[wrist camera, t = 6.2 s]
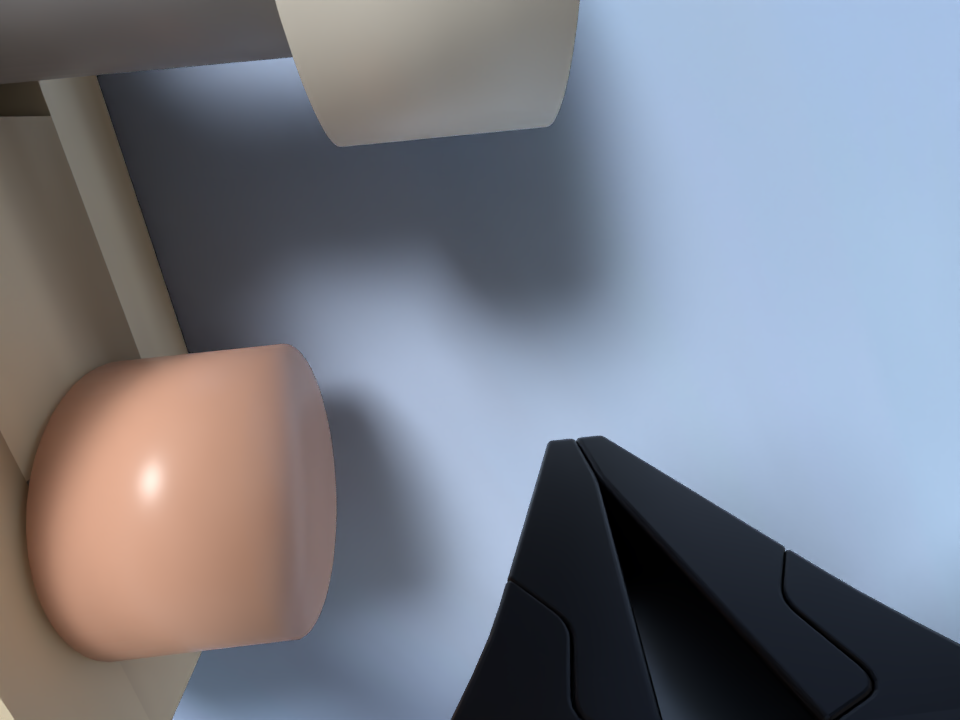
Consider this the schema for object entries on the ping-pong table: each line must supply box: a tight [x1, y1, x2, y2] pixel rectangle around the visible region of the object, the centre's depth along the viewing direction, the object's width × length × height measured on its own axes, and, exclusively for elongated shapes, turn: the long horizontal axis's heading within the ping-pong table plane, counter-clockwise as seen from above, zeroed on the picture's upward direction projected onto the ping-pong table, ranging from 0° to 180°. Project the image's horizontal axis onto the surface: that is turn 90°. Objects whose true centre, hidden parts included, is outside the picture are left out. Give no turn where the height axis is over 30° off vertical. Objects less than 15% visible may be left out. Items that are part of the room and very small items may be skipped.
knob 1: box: [26, 344, 337, 662], centre depth 9 cm, size 7×4×4 cm, turn 95°
